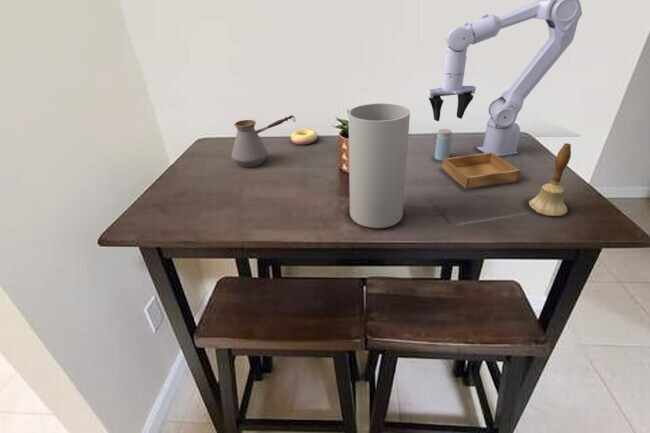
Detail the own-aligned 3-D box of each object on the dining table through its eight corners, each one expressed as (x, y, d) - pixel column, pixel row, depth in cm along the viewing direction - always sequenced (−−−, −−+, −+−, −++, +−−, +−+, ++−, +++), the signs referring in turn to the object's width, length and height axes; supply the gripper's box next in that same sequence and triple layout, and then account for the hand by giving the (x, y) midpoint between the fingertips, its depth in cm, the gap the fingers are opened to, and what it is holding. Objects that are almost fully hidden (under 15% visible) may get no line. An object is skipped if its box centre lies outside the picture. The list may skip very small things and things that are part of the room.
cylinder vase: (389, 235, 84) (395, 124, 71) (340, 221, 90) (337, 116, 77) (410, 209, 93) (418, 107, 80) (364, 198, 99) (365, 101, 86)
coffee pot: (228, 169, 118) (219, 122, 111) (239, 155, 128) (231, 110, 120) (296, 169, 116) (291, 121, 108) (301, 155, 126) (298, 109, 118)
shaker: (444, 155, 120) (448, 127, 115) (451, 160, 116) (455, 132, 112) (431, 157, 119) (434, 129, 115) (438, 162, 116) (441, 134, 111)
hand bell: (563, 201, 93) (584, 138, 85) (570, 218, 86) (592, 152, 78) (526, 197, 95) (542, 136, 87) (529, 214, 89) (547, 149, 80)
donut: (289, 150, 136) (312, 148, 132) (285, 138, 133) (309, 136, 129) (299, 136, 143) (322, 134, 139) (295, 125, 140) (319, 123, 136)
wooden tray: (489, 163, 113) (491, 152, 112) (517, 182, 102) (520, 170, 100) (442, 170, 111) (443, 158, 109) (465, 190, 100) (467, 178, 98)
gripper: (437, 77, 106) (431, 125, 114) (484, 73, 109) (476, 120, 116) (426, 73, 112) (421, 118, 119) (471, 69, 115) (464, 113, 122)
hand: (447, 118), depth 118 cm, fingers open, 7 cm apart
